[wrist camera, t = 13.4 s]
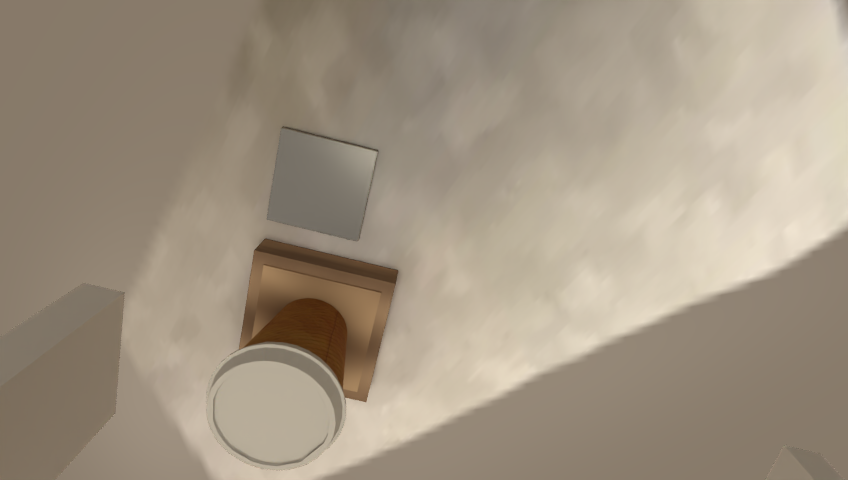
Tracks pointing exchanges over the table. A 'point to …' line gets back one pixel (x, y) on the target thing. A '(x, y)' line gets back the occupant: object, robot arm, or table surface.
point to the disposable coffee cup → (283, 389)
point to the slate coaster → (321, 184)
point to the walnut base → (332, 283)
